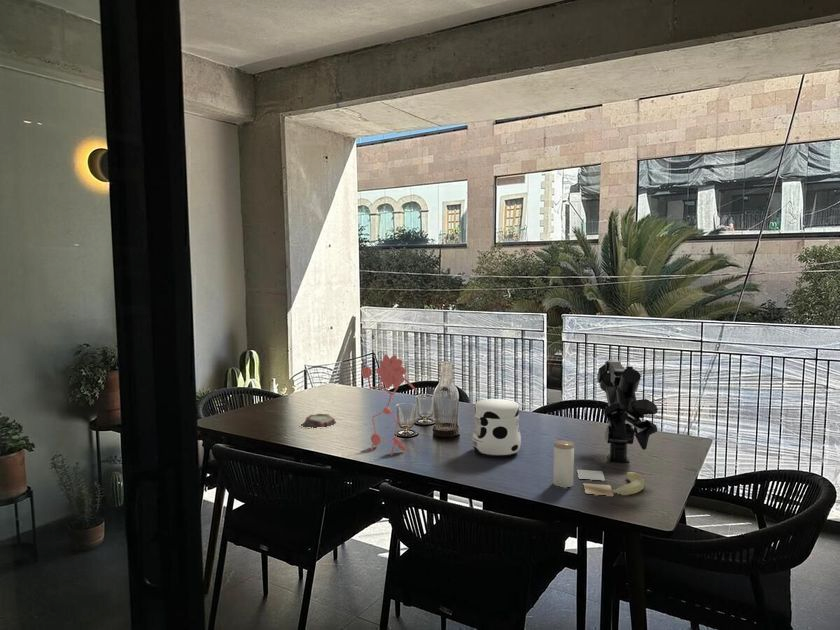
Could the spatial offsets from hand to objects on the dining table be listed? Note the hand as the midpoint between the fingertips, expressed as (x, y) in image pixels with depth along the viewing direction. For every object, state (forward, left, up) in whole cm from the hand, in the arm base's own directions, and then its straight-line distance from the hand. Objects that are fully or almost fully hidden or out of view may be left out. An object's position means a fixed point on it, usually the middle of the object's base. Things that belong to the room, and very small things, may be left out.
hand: (634, 443), depth 180 cm
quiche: (-48, -120, -14) cm, 130 cm away
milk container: (-23, -43, -13) cm, 51 cm away
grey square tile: (-5, -12, -13) cm, 19 cm away
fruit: (+2, -2, -13) cm, 14 cm away
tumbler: (+4, -21, -13) cm, 25 cm away
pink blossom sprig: (-21, -81, -13) cm, 85 cm away
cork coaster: (+7, -11, -13) cm, 18 cm away
